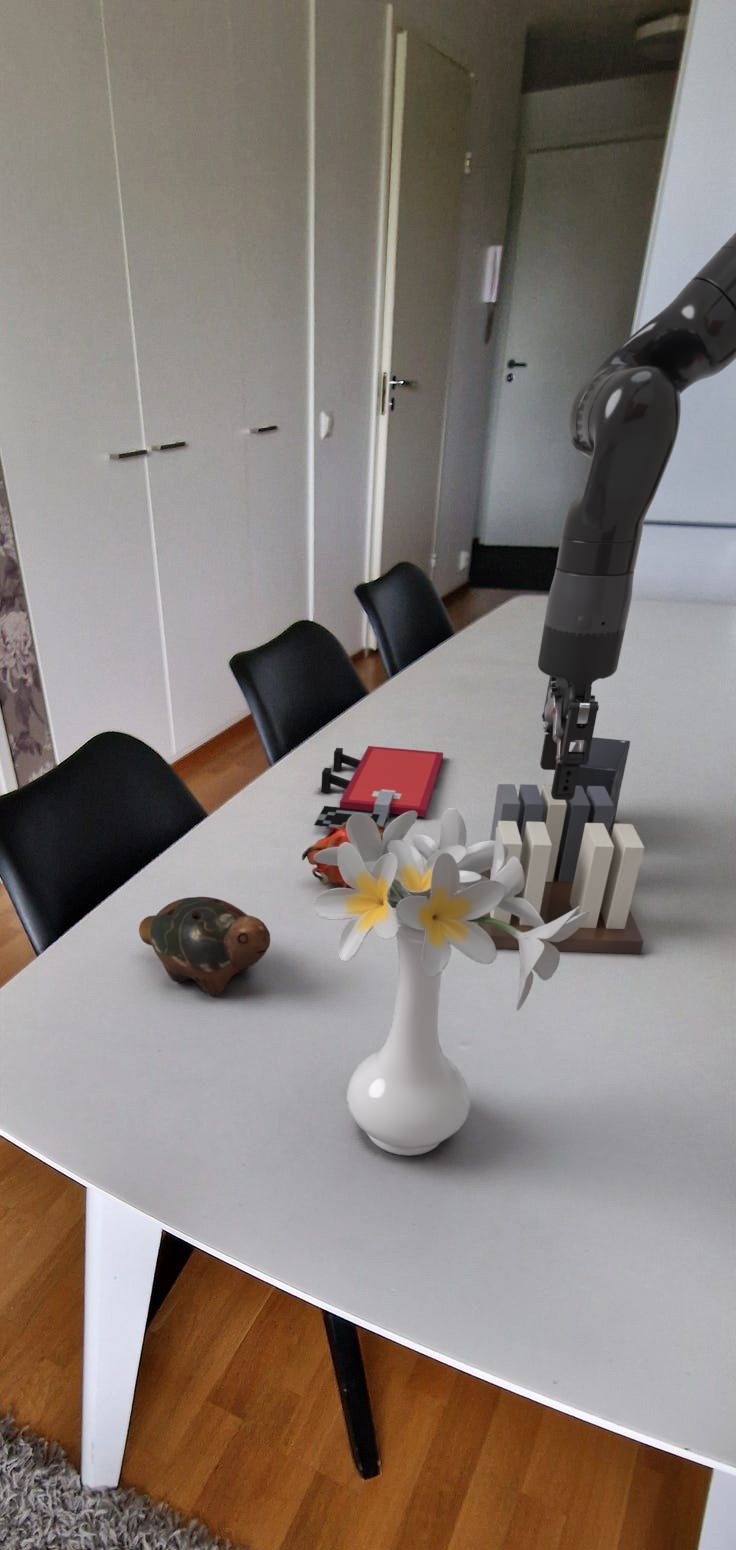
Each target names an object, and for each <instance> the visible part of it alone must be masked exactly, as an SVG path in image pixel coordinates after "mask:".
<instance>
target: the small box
mask: <svg viewBox="0 0 736 1550" xmlns="http://www.w3.org/2000/svg"><path fill="white" fill-rule="evenodd" d="M630 747H631V741H630V740H624V739H615V738H604V737H595V736H594V737H592V742H591V748H590V753H589V761H588V763H587V765H580V768H579V773H578V778H577V783H576V786H582V787H583V790H584V792H585V794H586V792H587V787H588V786H605V788H606V790H607V792H608V794H609V797H610V799H611V801H612V803H613V805H614V810H613V814H612V819H611V823H610V828H609V833H608V834H609V835H610V833H611V831H612V829H613V827H614V824H615V821H616V816H617V811H618V805H619V798H620V794H621V789H622V784H623V780H624V775H625V770H626V765H627V762H628V761H627V760H628V756H629V751H630ZM570 751H571V752H577V743H575V744H574V745H573V747H572V748H571V750H570Z"/></svg>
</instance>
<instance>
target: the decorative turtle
mask: <svg viewBox="0 0 736 1550" xmlns="http://www.w3.org/2000/svg"><path fill="white" fill-rule="evenodd" d="M138 934H139V937H140V939H141V941H143V942H144V943H145V944H146V945H149V946H152V949H153V952H154V953H155V955H156V956H157V957H158V959H159V961H161V963H162V965H163V967H164V969H165V971H166V973H167V975H168V977H169V978H170V980H172V981H173V982H175V983H183V982H185V981H187V980H189V979H190V978H191V979H193V980H194V981H195V982H197V983H198V985H199V986H200V987H201V989H202V990H203V991H204V993H205V994H207V995H209V996H212V997H217V996H218V995H220V993H222V991H224V989H225V987H226V985H227V983H228V982H229V981H230V979H231V978H232V977H233V976H234V975H235V974H237V973H238V974H244V973H246V972H247V971H248V970H249V968H250V967H252V966H253V965H255V964H256V963H258V961H259V960H261V959H262V958H263V957H264V955H265V954H266V953H267V951H268V949H269V948H270V946H271V933H270V931H269V929H268V927H267V926H266V924H265V922H263V921H262V920H261V919H260V918H258V917H256V916H254V915H249V914H247V913H246V912H244V911H243V910H242V909H240V908H239V907H237V906H235V905H234V904H232V903H230V902H227V901H226V900H223V899H220V898H215V897H209V896H191V897H184V898H180V899H177V900H174V901H172V902H170V903H168V904H167V905H165V906H164V907H163V908H161V910H159V911H158V912H157V913H156V914H154V915H148V916H146V917H144V918H143V919H142V920H141V921H140V924H139V926H138Z"/></svg>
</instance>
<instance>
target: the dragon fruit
mask: <svg viewBox="0 0 736 1550" xmlns="http://www.w3.org/2000/svg"><path fill="white" fill-rule="evenodd" d="M375 823H376V822H375ZM346 825H347V822H345V823H342V826H339V827H330V831H329V833H327V835H326V836H324V837H323V838H321V839H318V840H317V841H316V842H315V843H314V844H312V845H311V846H309V847H308V848H306V850H305V851H303V853H302V855H301V862H302V861H304V860H305V859H307V860H308V864H309V865H312V866H315V865H316V867H314V868H312V869H311V873H312V875H313V876H314V877H315V878H316V879H318V880H319V882H320V883H322V884H323V885H324V886H326V884H333V883H334V884H336V885H337V886H340V887H343V888H349V889H354V888H352V887H350V886H349V885H348V884H347V883H346V882H345V881H344V879H343V878H342V875H341V873H340V870H339V867H338V866H335V865H328V864H322V863H318V862H316V861H315V860H314V855H315V854H317V853H318V852H320V851H322V850H324V849H328V848H332V847H340V845H341V844H342V843H344V842H348V843H350V841H349V839H348V836H347V832H346ZM376 826H377V827H378V830H379V833H380V837H381V840H382V839H383V833H384V831H385V829H386V828H384V826H383V827H382V826H380V825H379V824H377V823H376ZM350 844H351V843H350ZM397 872H398V871H397ZM317 873H318V874H317ZM319 874H320V875H319ZM398 874H399V873H398Z"/></svg>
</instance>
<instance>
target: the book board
mask: <svg viewBox="0 0 736 1550" xmlns="http://www.w3.org/2000/svg"><path fill="white" fill-rule="evenodd" d="M479 874H480V875H481V876H484V877H486V878H488V879H489V880H490V876H491V872H490V869H489V870H486V871H483V872H481V873H479ZM572 887H573V882H558V879H557V876H556V872H554V878H553V882H545V887H544V893H543V898H542V904H541V909H540V917H541V918H542V920H543V921H544V923H545V924H548V923H550V922H552V921H554V920H556V919H558V918H560V917H562V916H563V915H565V914H567V913H568V912H570V911H572V907H571V904H570V897H571V892H572ZM514 896H515V895H514ZM483 917H490V918H491V916H490V912H489V913H487V914H486V915H484V916H483ZM573 917H574V916H573ZM473 923H475V924H477V925H478V926H480V927H481V928H482V929H483V930H485V931H486V932H487V934H488V935H489V936H490V937H491V939H492V940H493V942H494V945H495V947H496V949H501V950H502V949H503V950H504V949H505V950H519V941H518V939H516V938H515V937H513V936H512V935H511V934H509V933H508V932H506V931H504V930H502V929H500V928H498V927H495V926H493V925H489V924H484V923H476V922H473ZM509 925H511V926H512V927H514V928H515V929H517V930H519V931H521V932H528V931H531V930H532V929H535V927H533V926H526V925H520V924H519V920H518V916H515V915H513V914H511V919H510V924H509ZM547 942H549V943H550V944H552V945H553V946H555V947H556V948H557V950H558V952H578V953H605V954H626V955H627V954H628V955H629V954H630V955H641V954H642V950H643V946H644V943H645V942H644V939H643V936H642V935H641V932H640V930H639V926H638V925H637V923H636V920H635V918H634V916H633V913H632V911H631V908H630V909H629V913H628V917H627V921H626V925H625V929H607V928H606V926H605V923H604V920H603V918H602V915H601V912H600V913H599V917H598V922H597V926H596V928H579V929H578V930H577V931H575V932H574V933H573V934H572V935H571V936H569V937H568V938H566V939H565V940H562V941H560V942H550V941H547Z"/></svg>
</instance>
